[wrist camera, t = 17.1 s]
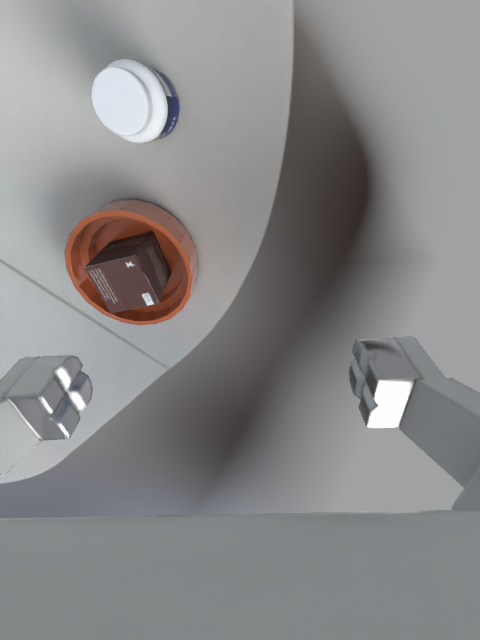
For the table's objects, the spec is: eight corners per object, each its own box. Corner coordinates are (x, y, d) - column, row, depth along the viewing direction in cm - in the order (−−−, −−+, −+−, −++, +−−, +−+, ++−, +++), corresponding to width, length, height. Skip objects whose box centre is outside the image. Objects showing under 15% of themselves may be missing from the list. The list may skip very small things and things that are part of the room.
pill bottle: (157, 150, 31) (127, 163, 23) (114, 102, 29) (64, 99, 21) (193, 108, 29) (173, 107, 21) (149, 53, 27) (108, 29, 19)
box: (108, 240, 36) (81, 266, 30) (154, 229, 36) (136, 253, 29) (130, 283, 40) (109, 314, 34) (172, 274, 39) (159, 304, 33)
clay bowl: (187, 193, 34) (178, 204, 30) (205, 300, 42) (201, 321, 38) (66, 204, 35) (42, 216, 30) (107, 307, 43) (93, 328, 39)
